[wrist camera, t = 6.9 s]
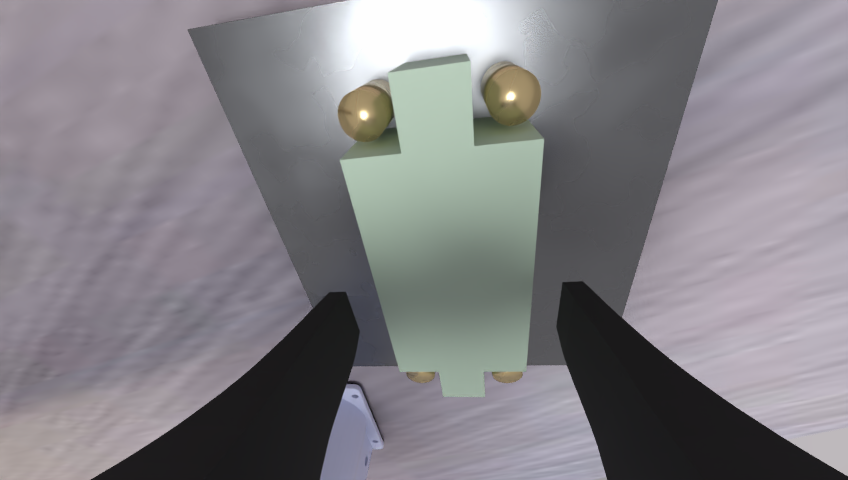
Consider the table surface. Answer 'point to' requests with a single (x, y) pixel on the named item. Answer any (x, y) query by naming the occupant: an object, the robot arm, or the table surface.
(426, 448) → the table surface
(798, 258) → the table surface
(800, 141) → the table surface
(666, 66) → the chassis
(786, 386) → the table surface
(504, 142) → the pale green block
